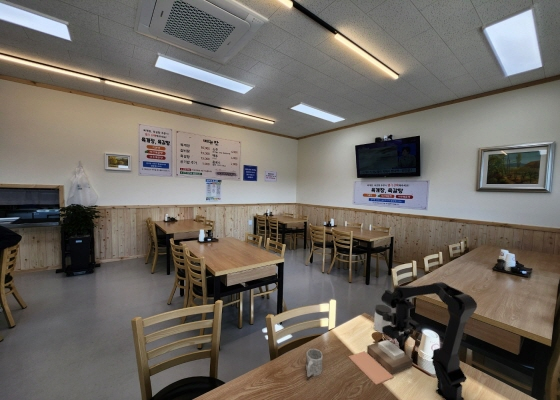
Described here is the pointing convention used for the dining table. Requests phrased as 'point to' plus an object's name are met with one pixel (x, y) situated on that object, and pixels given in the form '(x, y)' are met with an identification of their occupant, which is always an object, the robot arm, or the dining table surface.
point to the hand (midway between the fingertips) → (400, 346)
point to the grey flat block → (391, 349)
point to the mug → (314, 362)
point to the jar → (379, 319)
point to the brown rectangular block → (389, 360)
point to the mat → (371, 368)
